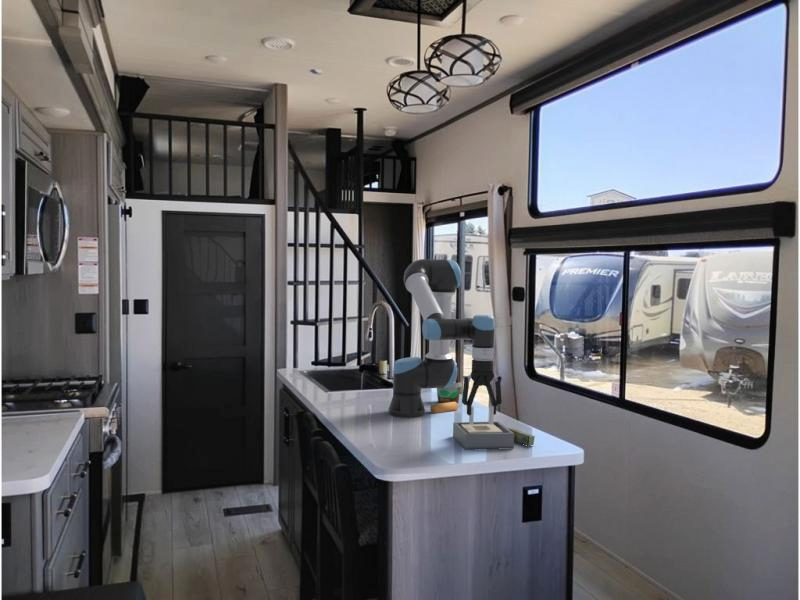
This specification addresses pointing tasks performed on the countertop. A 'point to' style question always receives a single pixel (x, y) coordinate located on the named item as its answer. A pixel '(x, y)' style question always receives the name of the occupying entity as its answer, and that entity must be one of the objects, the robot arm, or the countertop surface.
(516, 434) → the medication box
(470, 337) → the robot arm
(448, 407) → the peg
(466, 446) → the box
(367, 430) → the countertop surface
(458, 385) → the food container
